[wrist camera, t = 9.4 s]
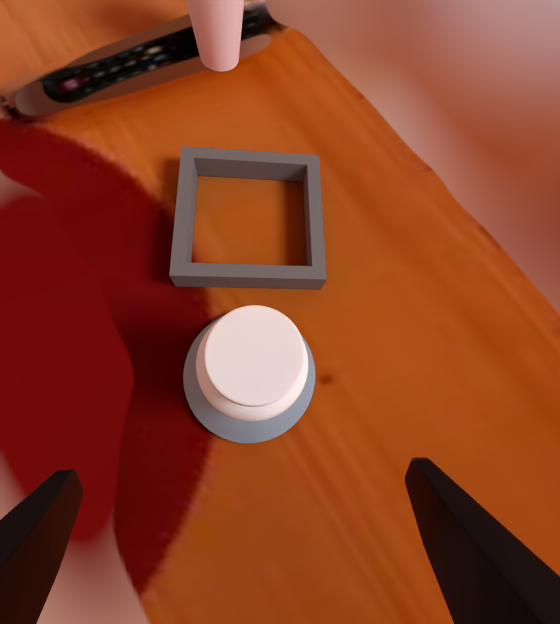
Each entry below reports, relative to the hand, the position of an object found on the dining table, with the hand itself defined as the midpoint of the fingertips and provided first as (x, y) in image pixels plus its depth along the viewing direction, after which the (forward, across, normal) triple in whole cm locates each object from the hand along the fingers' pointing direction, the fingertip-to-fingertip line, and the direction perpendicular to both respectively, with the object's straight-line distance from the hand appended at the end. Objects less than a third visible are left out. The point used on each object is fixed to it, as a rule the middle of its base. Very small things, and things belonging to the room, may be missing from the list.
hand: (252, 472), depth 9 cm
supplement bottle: (+12, 0, +6) cm, 13 cm away
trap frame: (+20, 0, -2) cm, 21 cm away
